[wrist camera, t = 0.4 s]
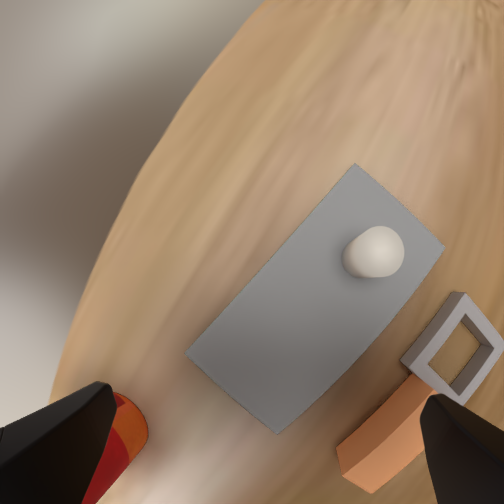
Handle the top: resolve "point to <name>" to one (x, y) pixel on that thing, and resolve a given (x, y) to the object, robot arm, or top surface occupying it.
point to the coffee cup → (118, 448)
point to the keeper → (317, 301)
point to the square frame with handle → (417, 397)
